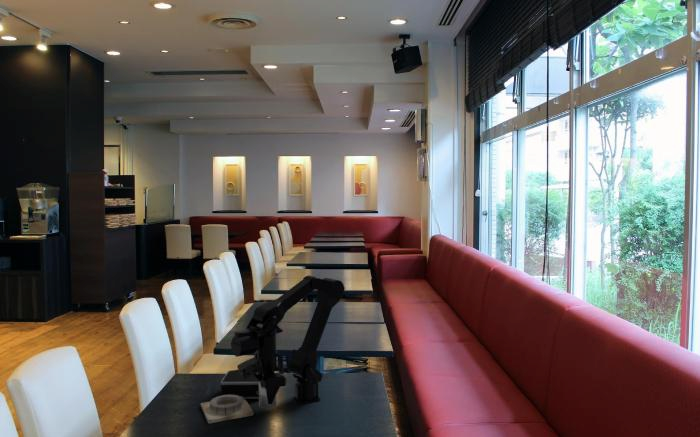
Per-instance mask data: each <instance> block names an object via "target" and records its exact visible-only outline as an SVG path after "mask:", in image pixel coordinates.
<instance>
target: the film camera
mask: <svg viewBox="0 0 700 437" xmlns="http://www.w3.org/2000/svg"><path fill="white" fill-rule="evenodd" d="M220 392H221V396H222V395H238V396H243V397H244V398H245V400H246V399H247V400H248V399H249V400H257V399H258V400H259V380H258V379H257V378H256V377H255V376H254V375H252V376H250V377H249V378H247V379H243V378H242V376H241V375H240V372H239V370H238V369H233V370H228V371H226V374H225V375H224V376H223V378H222V379H221V381H220Z"/></svg>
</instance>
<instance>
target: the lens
mask: <svg viewBox="0 0 700 437" xmlns="http://www.w3.org/2000/svg"><path fill="white" fill-rule="evenodd" d="M260 383H262V380H260V381H259V399H258V406H259V407H260V408H262V409H272V408H274V407H275V406H277V395H276V396H275V398H274V401H273V403H272V404H268V401H267V395H266V389H265V388H264V387H263V386H262V385H261V384H260Z"/></svg>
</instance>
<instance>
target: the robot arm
mask: <svg viewBox="0 0 700 437" xmlns="http://www.w3.org/2000/svg"><path fill="white" fill-rule="evenodd" d="M345 290H346V289H345V285H344V283H343V282H342V280H339V279H333V278H330V277H325V278H318V277H317V276H313V275H305V276H304V277H303V278H302V279H301V280H300V281H299V282H297V283H296V284H295V285H293V286H292V287H291V288H290V289H288V290H287V291H285V292H284V293H283V294H281V295H280V296H279V297H278V298H276V299H273V300H270V301H266V302H265V303H262V304H261V305H259V306H257V307H256V308H254V310H253V315H252V316H251V318H250V320H249V323H248V324H247V326H246V327H245V329H246V330H243V331H241V330H240V331H235V332H234V336H233V337H232V338H231V342H230V349H231V353H232V354H233V355H234V356H235V357H237V358H238V357H242V356H246V355H250V354H253V356H254V357H252V358H251V357H250V358H249V359H246V360H245V361H243V362H240V363H239V364H237V366H236V368H237V370H239V372H240V375H241V376H242V378H243V379H247V378H249V377H250V376H252V375H254V376H255V377H256V378H257V379H258V380H259V381H260V380H262V383H260V384H261V385H262V386H263V387H264V388H265V389H266V395H267V401H268V404H272V403H273V401H274V398H275V396H276V397H277V394H278V392H279V390H280V387H285V386H287V378H286V377H285V376H284V374H283V373H282V372H280V369H279V368H280V367H279V366H278V365H277V364H278V363H277V361H278V359H277V358H279V354H280V353H279V352H278V351H277V334H281V333H283V332H284V331H283V329H282V328H281V327H279V323H281V321H282V320H284V317H285V315H286V314H287V312H288V311H289V310H290V309H292V308H293V307H294V306H296V305H297V304H298V303H300V302H301V301H302V300H303V299H305V298H306V297H307V296H308V295H310V294H311V293H312V292H313V291H316V300H317V303H316V306H315V309H314V312H313V315H312V317H311V320H310V323H309V325H308V328H307V330H306V333H305V336H304V339H303V341H302V344H301V345H300V347H298V349H295V348H293V349H292V351H291V354H290V358H289V359H288V360H287V361H288V369H289V372H290V373H291V374H292V376H293V378H294V379H296V380H295V381H296V383H295V384H294V398H296V400H297V401H298V402H299V403H300V404H307V403H311V402H312V403H313V402H318V401H320V400H321V397H319V382H320V383H321V382H322V380H323V373H322V372H320V371H319V370H318V369H317V364H318V356H317V355H318V354H317V350H318V348H319V345H320V342H321V339H322V336H323V335H324V334H323V333H324V331H325V328H326V327H327V322H328V320H329V318H330V315H331V311H332V310H333V308H334V307H335V306H336V305H337V304H338V303H339V302H340V301H341V299H342V297H343V295H344V292H345ZM258 325H259V326H258ZM260 326H261V327H260ZM278 371H279V372H278Z"/></svg>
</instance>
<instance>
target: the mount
mask: <svg viewBox="0 0 700 437" xmlns="http://www.w3.org/2000/svg"><path fill="white" fill-rule="evenodd" d="M200 408H201V410H202V412H203V414H204V417H205V419H206V422H207V424H213V423H215V424H216V423H219V422H224V421H230V420H234V419H235V420H236V419H241V418H246V417H251V416H254V414H255V413H254V410H253V409H252V407H251V406H250V404H249V403H248V401H247V400H246V399H245V398H244V397H243V396H238V395H222V394H221V395H217V396H216V397H213V398H212V399H211V400H210V401H205V402H201V403H200Z"/></svg>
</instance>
